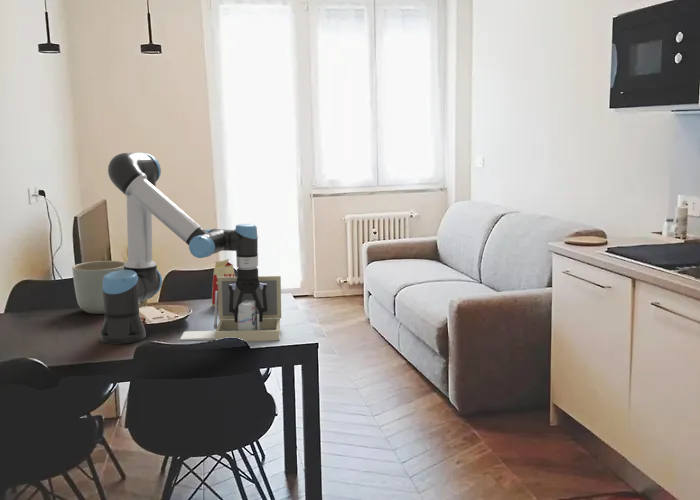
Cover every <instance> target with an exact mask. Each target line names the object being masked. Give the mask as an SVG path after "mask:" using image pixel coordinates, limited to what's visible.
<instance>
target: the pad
mask: <svg viewBox="0 0 700 500" xmlns="http://www.w3.org/2000/svg"><path fill="white" fill-rule="evenodd" d="M215 332H216V330H199V331H197V330H195V331H183V333H182V335H181V337H179V338H180V339H179V341H209V340H210V341H214V340H215V339H216V338H215ZM215 341H216V340H215Z"/></svg>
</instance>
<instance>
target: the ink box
mask: <svg viewBox="0 0 700 500" xmlns="http://www.w3.org/2000/svg"><path fill="white" fill-rule="evenodd" d="M238 311H239V331H247V330H257V312H259V311H258V308H257V306H256V303H255V301H253V300H245V301H244V302H242V303H241V304H239V306H238Z"/></svg>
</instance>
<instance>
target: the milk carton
mask: <svg viewBox="0 0 700 500" xmlns="http://www.w3.org/2000/svg"><path fill="white" fill-rule="evenodd" d="M214 263H215V265H214V267H213V275H212V277H213V278H212V288H211V289H212V291H211V292H212V293H211V306H213V307H215V292H216V291H218V277H236V273H235V268H234V265H233V263H231V262H229V258H228V259H227V258H226V259H225V260H221V261H220V260H219V261H217V260H216V261H214ZM217 308H219V306H217Z"/></svg>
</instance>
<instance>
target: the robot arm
mask: <svg viewBox="0 0 700 500" xmlns="http://www.w3.org/2000/svg"><path fill="white" fill-rule="evenodd" d="M161 170H162V169H161V165H160V162H159V160H157V158H156V157H155V156H154V155H152V154H151V153H147V152H141V151H140V152H138V151H137V152H123V153H119V154H117V155H115V156H113V157H112V158H111V160H109V164H108V165H107V174H108V176H109V179H110V181H111V182H112V183H113V185H114V186H115V187H116V188H117V189H118V190H119V191H120V192H121V193H122V194H124V195H125V196H126V221H127V222H126V223H127V224H126V225H127V226H126V231H127V260H126V261H125V264H124V270H118V271H114V272H111V273H108V274H107V275H105V276H104V278H103V285H102V289H103V299H104V314H103V315H104V320H103V323H102V327H101V330H100V337H99V338H100V341H101V343H102V342H103V343H104V344H109V345H125V344H129V343H135V342H139V341H142V340H143V339H145V338H146V336H147V335H146V328H145V326H144V323H143V320H142V319H141V318H142V317H141V316H140V303H142V302H143V301H145V300H149V299H151V298H153V297H154V296H155V295H157V294H158V293H159V292H160V290H161V287H162V285H163V277H162V275H161V272H159V270H158V269H157V267H158V266H157V265H158V264H157V263H156V262H155V260H153V223H152V222H153V217H152V216H154V217H155V218H156V219H158V221H160V222H161V223H162V224H163V225H164V226H166V227H167V228H168V229H170V231H171V232H172V233H174V234H175V235H176V236H177V237H178V238H180V239H181V240H182V241H183V242H184V243H185V244H186V245H188V250H189V252H190V254H192V256H193V257H194V258H196V259H197V258H198V259H203V258H208V257H210V256H212V255H213V254H214V255H215V254H217V253H219V252H222V251H226V252H227V251H228V252H229V251H230V252H231V251H232V252H235V253H236V268H237V269H236V277H237V282H236V283H235V284H230V285H229V290H230V302H229V312H232V313H234V319H235V322H238V329H237V331H239V312H238V306H239V304H240V303H241V300H242V297H243V294H247V293H249V294H252V295H253V297H254V300H255V303H256V306H257V308H258V311H259V312H257V330H261V329H260V322H262V320H263V312H266V311H267V298H266V287H267V284H266V283H264V284H263V283H260V282H259V280H258V276H259V268H258V266H259V253H258V240H259V237H258V229H257V225H255V224H253V223H239V224H236V225H235V228H234V229H220V228H219V229H217V228H211V229H210V228H209V229H208V228H207V229H204V228H203V227H202V225H200V224H199V223H197V222H196V220H194V219H193V218H192V217H190V216H189V215H188V214H187V213H186V212H185V211H183V209H181V208H180V207H179V206H178V205H177V204H175V202H173V201H172V200H171V199H170V198H168V196H166V195H165V194H164V193H163V192H162V191H161V190H160V189H158V188H157V187H156V186H157V185H156V183H157V181H158V180H160V178H161V172H162V171H161ZM236 286H237V288H238V289H239V290H240V291H241V292H240V295H239V298H238V301H237V305H236V308H235V309H234V308H233V300H234V290H235V287H236ZM259 286H260V288H261V289H262V296H263V306H264V308H262V307H261V304H260V301H259V299H258V296H257V293H256V289H257V288H258V287H259ZM234 319H233V320H234Z"/></svg>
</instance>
